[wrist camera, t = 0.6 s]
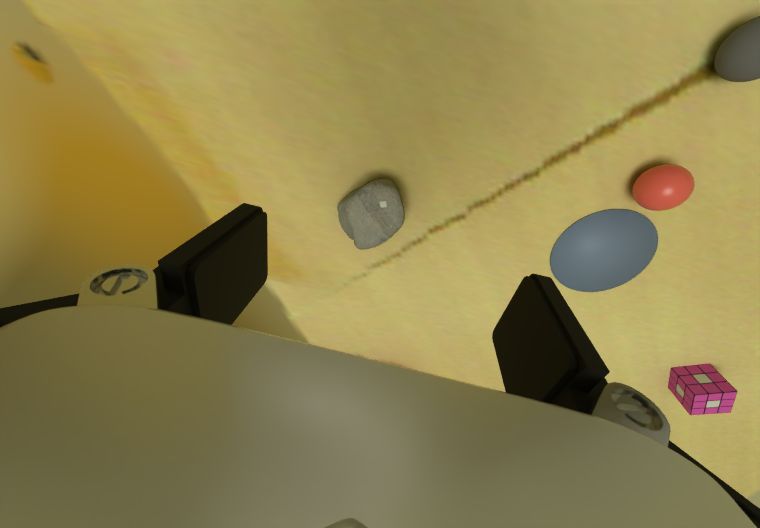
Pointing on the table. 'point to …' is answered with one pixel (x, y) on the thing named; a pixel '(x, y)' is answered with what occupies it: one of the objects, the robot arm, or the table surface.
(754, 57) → the gray ball
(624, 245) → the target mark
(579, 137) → the table surface
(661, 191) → the object ball
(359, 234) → the stone
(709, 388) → the puzzle toy
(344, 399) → the robot arm
